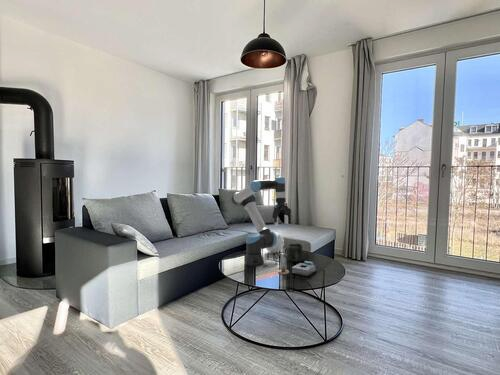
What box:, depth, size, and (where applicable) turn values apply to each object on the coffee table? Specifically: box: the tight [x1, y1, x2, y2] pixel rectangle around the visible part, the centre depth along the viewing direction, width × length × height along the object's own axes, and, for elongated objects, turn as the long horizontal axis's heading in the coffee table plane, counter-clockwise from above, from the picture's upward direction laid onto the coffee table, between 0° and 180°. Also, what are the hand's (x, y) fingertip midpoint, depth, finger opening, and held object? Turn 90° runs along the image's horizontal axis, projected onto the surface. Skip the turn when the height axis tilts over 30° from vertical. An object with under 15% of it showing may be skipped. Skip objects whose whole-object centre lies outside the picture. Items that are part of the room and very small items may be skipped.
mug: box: [284, 243, 303, 262], centre depth 235 cm, size 11×15×12 cm
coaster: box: [277, 269, 290, 275], centre depth 207 cm, size 8×8×1 cm
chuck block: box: [291, 260, 316, 277], centre depth 207 cm, size 12×15×5 cm
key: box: [278, 252, 288, 272], centre depth 207 cm, size 3×6×13 cm, turn 52°
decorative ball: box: [265, 230, 285, 254], centre depth 258 cm, size 20×17×20 cm
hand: (281, 225), depth 220 cm, fingers open, 13 cm apart
